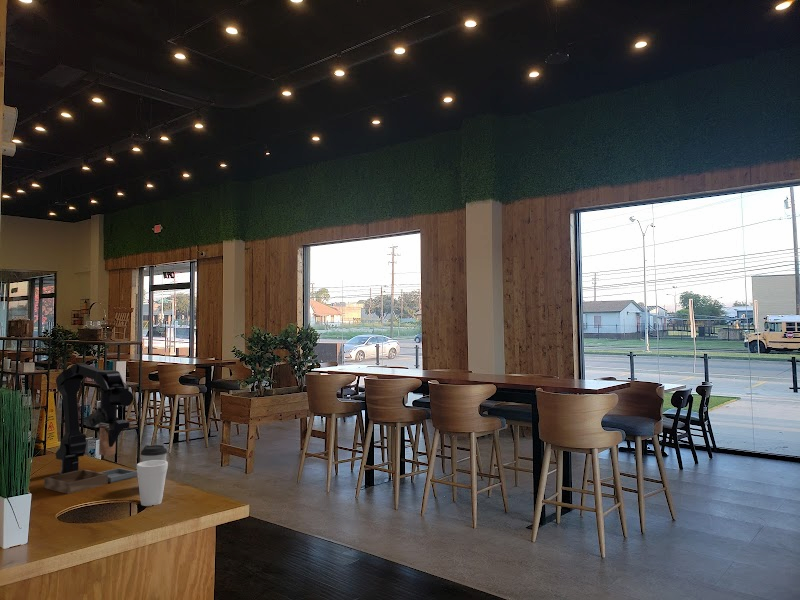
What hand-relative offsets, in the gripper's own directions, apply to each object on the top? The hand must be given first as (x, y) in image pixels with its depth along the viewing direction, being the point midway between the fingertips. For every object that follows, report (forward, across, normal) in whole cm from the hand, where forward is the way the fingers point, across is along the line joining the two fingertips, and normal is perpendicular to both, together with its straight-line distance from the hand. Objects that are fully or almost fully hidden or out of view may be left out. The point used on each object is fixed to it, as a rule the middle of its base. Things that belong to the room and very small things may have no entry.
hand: (107, 446), depth 219 cm
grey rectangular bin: (+13, 0, +3) cm, 13 cm away
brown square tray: (+13, -1, -11) cm, 17 cm away
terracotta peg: (+3, 0, 0) cm, 3 cm away
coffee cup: (+13, +22, +4) cm, 26 cm away
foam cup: (+13, +38, -8) cm, 41 cm away
